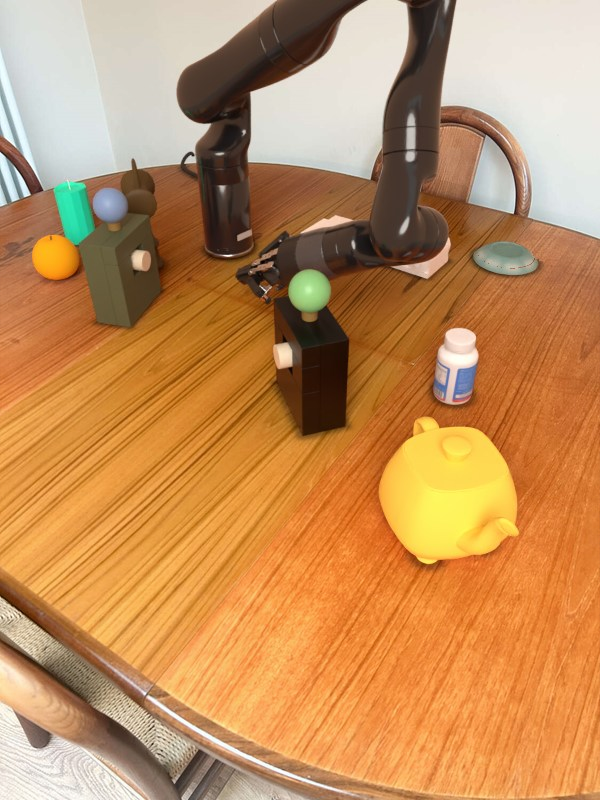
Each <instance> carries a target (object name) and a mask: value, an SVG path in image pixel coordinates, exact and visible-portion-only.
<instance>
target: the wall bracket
mask: <svg viewBox="0 0 600 800" xmlns="http://www.w3.org/2000/svg"><path fill="white" fill-rule="evenodd" d="M353 220H354V219H351V218H347V217H343V216H340V215H337V214H335V215H333V216H332V217H330V218H329V219H328V218H324V217H323V218H322V219H320V220H319V221H317V222H315V223H313V224H312V225H311V226H309V227H308V228H306V229H304V230H302V231H301V232H300V233H299V234H301V233H305V232H308V231H311V230H315V229H318V228H323V227H331V226H335V225H338V224H342V223H345V222H349V221H353ZM450 250H451V238H450V237H449V236H448V240H447V243H446V245H445V247H444V248H443V250H442V251H441V252H440V253H439V254H438V255H437V256H436V257H434V258H433V259H431V260H429V261H426V262H422V263H417V264H410V265H402V266H393V267H392V268H393V269H395V270H398V271H402V272H405V273H408V274H411V275H414V276H417V277H419V278H420V277H421V278H422V279H423V278H424V279H426V280H428V279H430V277H432V276H433V275H434V274H435V273H436V272H437V271H438V270H439V269H441V268H442V267H443V266H444V265H445V264H446V263H448V261H449V252H450Z"/></svg>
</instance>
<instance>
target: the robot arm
mask: <svg viewBox="0 0 600 800" xmlns="http://www.w3.org/2000/svg"><path fill="white" fill-rule="evenodd" d="M397 1H398V2H401V3H403V4H406V5H405V6H406V12H407V27H408V28H407V29H408V32H407V42H406V48H405V49H406V50H405V53H404V56H403V60H402V62H401V64H400V66H399V69H398V72H397V74H396V76H395V78H394V80H393V82H392V84H391V87H390V89H389V91H388V94H387V97H386V100H385V103H384V108H383V113H382V123H381V171H380V174H379V177H378V181H377V185H376V188H375V193H374V197H373V201H372V205H371V209H370V213H369V219H361V218H360V219H352V220H353V221H349V222H345V223H342V224H338V225H335V226H331V227H323V228H318V229H315V230H311V231H308V232H305V233H301V232H300V233H301V234H300V233H298V234H295V235H291V234H290V233H289V232H288V231H287V230H284V231H283V232H281V233H280V234H279V235H278V236H276V237H275V238H274V239H273V240H271V242H269V244H267V245H266V246H265V247H264V248H263V249H262V250H261V251H259V253H258V257H259V258H257V259H254V260H253V262H252V263H250V264H245V265H243V266H242V267H239V268H237V271H236V273H235V275H234V277H235V279H236V280H237V281H238V282H239V283H240V284H241V285H242V286H246V285H247V286H248V287H249V289H250V290H251V291H252V293H253V294H254V296H255V297H256V298H258V299H259V301H261V302H263V304H265V305H266V306H268V305H269V304H271V302H272V299H273V298H272V297H271V296H272V294H273V293H274V292H275V291H277V292H279V291H282V290H283V289H285V288H287V287H289V284H290V282H291V280H292V278H293V277H294V276H295V275H296V274H297V273H299V272H300V271H303V270H307V269H312V270H317V271H319V272H321V273H322V274H324V275H325V276H326V278H327V279H328V281H329V282H332V281H335V280H338V279H340V278H343V277H347V276H351V275H357V274H362V273H364V272H368V271H371V270H376V269H381V268H393V266H402V265H410V264H417V263H422V262H426V261H429V260H431V259H433V258H434V257H436V256H437V255H438V254H439V253H440V252H441V251H442V250H443V248H444V247H445V245H446V243H447V240H448V237H449V233H450V230H449V229H450V228H449V225H448V221H447V220H446V218H445V216H444V215H443V214H442V213H441V212H440V211H438V210H437V209H435V208H433V207H431V206H427V205H419V200H420V196H421V191H422V187H423V185H426V184H429V183H430V182H433V181H434V180H435V179H436V178H437V176H438V173H439V167H440V150H441V112H442V111H441V110H442V98H443V97H442V96H443V86H444V79H445V71H446V66H447V65H446V64H447V60H448V52H449V48H450V43H451V36H452V31H453V24H454V18H455V12H456V6H457V1H458V0H397ZM366 2H368V0H275V1H274V2H273V3H271V4H270V5H269V6H267V7H266V8H265V9H264V10H263V11H262V12H261V13H259V14H258V15H257V16H256V17H255V18H254V19H252V21H250V22H248V23H247V24H246V25H245V26H244V27H243V28H241V29H240V30H239V31H237V33H235V34H234V35H233V36H232V37H231V38H230V39H229V40H228V41H226V42H225V44H223V45H222V46H221V47H219V48H217V49H216V50H215V51H213V52H211V53H209V54H208V55H206V56H205V57H203V58H201V59H199V60H197V61H195V62H193V63H191V64H189V65H187V66H186V67H185V68H184V69H183V70H182V72H181V73H180V75H179V76H178V80H177V84H176V88H175V89H176V93H175V94H176V101H177V105H178V107H179V110H180V111H181V113H182V114H183V115H184V116H185V117H186V118H187V119H188V120H190V121H191V122H194V123H196V124H201V125H209V127H208V129H207V131H205V133H204V134H203V135H202V136H201V137H200V138H199V139H198V140H197V141H196V143H195V145H194V152H193V151H188V152H187V153H185V154H184V155H183V157H182V159H181V161H180V168H181V170H182V171H183V172H185V173H186V174H188V175H190V176H192V177H194V178H196V179H197V182H198V183H197V184H198V192H199V200H200V208H201V209H200V210H201V219H202V228H203V239H204V251H205V253H206V254H207V255H208V256H210V257H213V258H215V259H219V260H220V259H222V260H232V259H233V260H234V259H238V258H242V257H245V256H248V255H249V254H250V253H252V252H253V250H254V248H255V246H254V239H253V238H254V236H253V219H252V218H253V217H252V203H251V202H252V200H251V186H250V184H251V183H250V171H249V170H250V169H249V148H250V145H251V141H252V95H251V93H252V92H255V91H258V90H262V89H264V88H267V87H269V86H273V85H274V84H278V83H280V82H282V81H284V80H287V79H289V78H291V77H293V76H295V75H296V74H299V73H300V72H302V71H304V70H306V69H307V68H309V67H310V66H312V65H313V64H315V63H316V62H318V61H320V60H321V59H322V58H324V57H325V55H326V54H327V53H329V51H330V49H331V48H332V46H333V45H334V43H335V41H336V38H337V36H338V33H339V31H340V26H341V23H342V21H343V19H344V18H345V16H347V14H349V13H350V12H352V11H353V10H354V9H356V8H358V7H359V6H360V5H362V4H363V3H366ZM189 157H192V158H193V157H195V165H196V172H195V171H192V170H190V169H188V168H186V166H185V163H186V161H187V160H188V158H189ZM262 284H264V285H262ZM265 284H267V285H265Z"/></svg>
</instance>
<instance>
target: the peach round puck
mask: <svg viewBox="0 0 600 800" xmlns="http://www.w3.org/2000/svg"><path fill="white" fill-rule="evenodd" d="M130 257H131V262H132V267H133V270H139V271H148V269H149V268H150V264H151V256H150V253H149V252H148V251H143V250H134V251H133V252H132V253H131V254H130Z"/></svg>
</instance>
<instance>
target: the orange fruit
mask: <svg viewBox="0 0 600 800" xmlns="http://www.w3.org/2000/svg"><path fill="white" fill-rule="evenodd" d="M31 257H32V258H31V259H32V260H31V261H32V265H33V267H34V268H35V271H37V272H38V274H40V276H42V277H43V278H45V279H47V280H54V281H59V280H60V281H61V280H66V279H68V278H69V277H71V276H73V275H75V273H76V272H77V270H78V269H79V267H80V261H81V259H80V253H79V250H78V248H77V245H74V244H73V243H72V242H71V241H70V240H69V239H67V238H65V236H63V235H61V234H60V235H59V234H49V235H45V236H42V237H41V238H40V239H38V241H36V243H35V245H34V246H33V248H32V252H31Z"/></svg>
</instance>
